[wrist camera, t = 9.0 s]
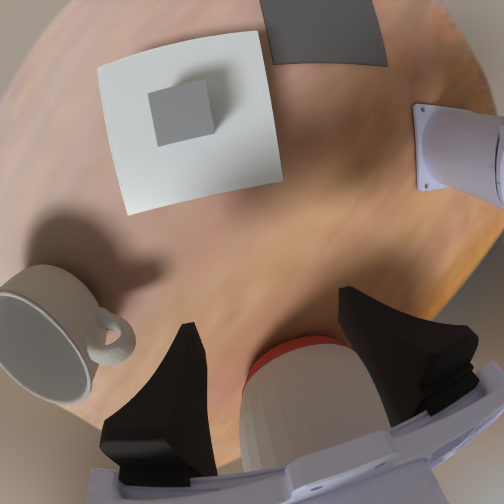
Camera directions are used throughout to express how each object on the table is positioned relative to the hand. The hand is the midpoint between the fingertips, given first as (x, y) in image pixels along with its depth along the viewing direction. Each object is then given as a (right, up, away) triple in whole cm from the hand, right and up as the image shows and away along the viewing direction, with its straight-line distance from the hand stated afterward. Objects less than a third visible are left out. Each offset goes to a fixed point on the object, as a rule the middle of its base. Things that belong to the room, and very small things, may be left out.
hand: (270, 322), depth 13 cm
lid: (-4, +11, 0) cm, 12 cm away
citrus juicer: (+4, -11, +16) cm, 20 cm away
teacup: (-17, -1, +8) cm, 19 cm away
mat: (+4, +22, +1) cm, 22 cm away
